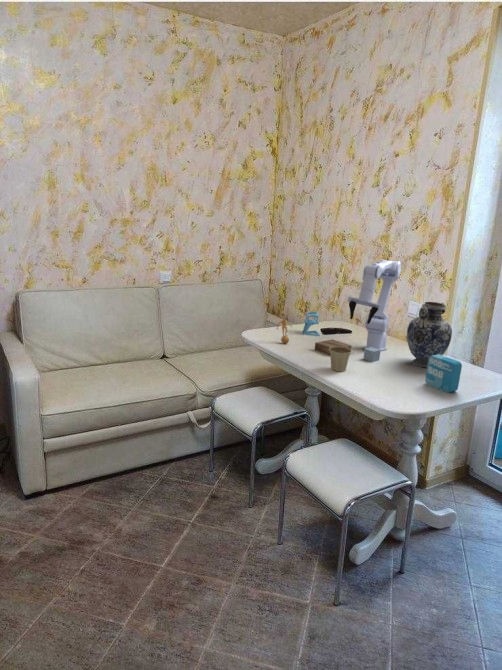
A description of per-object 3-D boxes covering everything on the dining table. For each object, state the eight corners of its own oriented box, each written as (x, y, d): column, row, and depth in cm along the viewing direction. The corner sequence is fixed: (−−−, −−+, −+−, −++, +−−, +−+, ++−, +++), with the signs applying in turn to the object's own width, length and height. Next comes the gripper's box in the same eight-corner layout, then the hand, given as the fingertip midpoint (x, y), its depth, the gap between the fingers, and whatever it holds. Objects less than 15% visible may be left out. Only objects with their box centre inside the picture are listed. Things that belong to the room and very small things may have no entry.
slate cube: (370, 357, 222) (371, 347, 220) (379, 360, 218) (380, 350, 217) (363, 359, 219) (364, 348, 217) (372, 362, 215) (373, 351, 214)
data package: (424, 383, 192) (429, 354, 188) (432, 381, 194) (436, 353, 191) (449, 393, 182) (455, 363, 179) (457, 392, 184) (462, 362, 181)
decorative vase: (416, 354, 229) (425, 297, 222) (454, 365, 217) (465, 304, 209) (393, 363, 215) (402, 301, 207) (432, 375, 202) (444, 310, 195)
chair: (301, 332, 260) (302, 310, 257) (316, 332, 261) (317, 310, 258) (304, 335, 253) (305, 313, 250) (319, 336, 254) (321, 313, 251)
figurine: (278, 345, 233) (280, 321, 230) (273, 341, 238) (275, 318, 235) (294, 344, 236) (296, 320, 233) (289, 340, 241) (290, 317, 238)
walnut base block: (331, 347, 236) (332, 339, 235) (350, 353, 227) (351, 345, 226) (314, 350, 229) (315, 342, 228) (333, 357, 220) (334, 349, 219)
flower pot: (322, 366, 205) (324, 347, 203) (341, 364, 209) (343, 345, 206) (334, 374, 197) (336, 353, 194) (353, 372, 200) (356, 352, 198)
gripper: (353, 285, 207) (345, 315, 206) (385, 294, 207) (378, 324, 206) (349, 288, 214) (342, 317, 213) (381, 296, 214) (373, 326, 213)
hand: (359, 321), depth 210 cm, fingers open, 7 cm apart
